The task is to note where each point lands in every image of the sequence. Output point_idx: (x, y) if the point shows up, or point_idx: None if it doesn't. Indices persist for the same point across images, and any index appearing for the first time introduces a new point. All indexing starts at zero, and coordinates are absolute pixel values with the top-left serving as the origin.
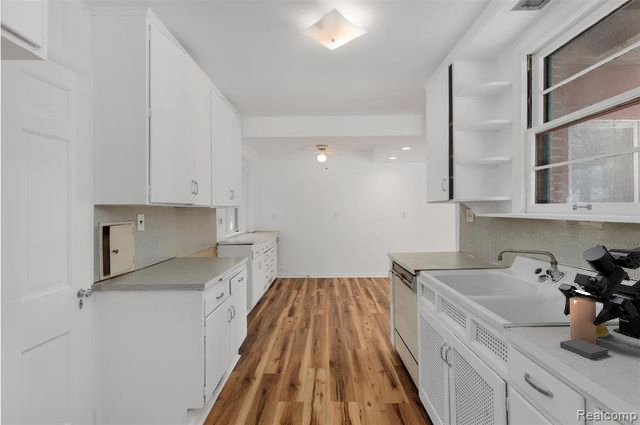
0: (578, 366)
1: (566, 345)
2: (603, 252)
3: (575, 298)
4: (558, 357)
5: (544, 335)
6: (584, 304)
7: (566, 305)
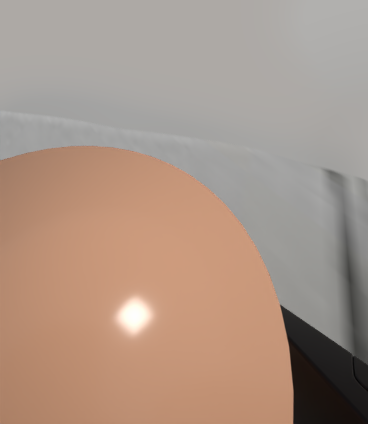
0: (54, 141)
1: None
2: None
3: (191, 318)
4: (104, 139)
5: None
6: None
7: (313, 338)
